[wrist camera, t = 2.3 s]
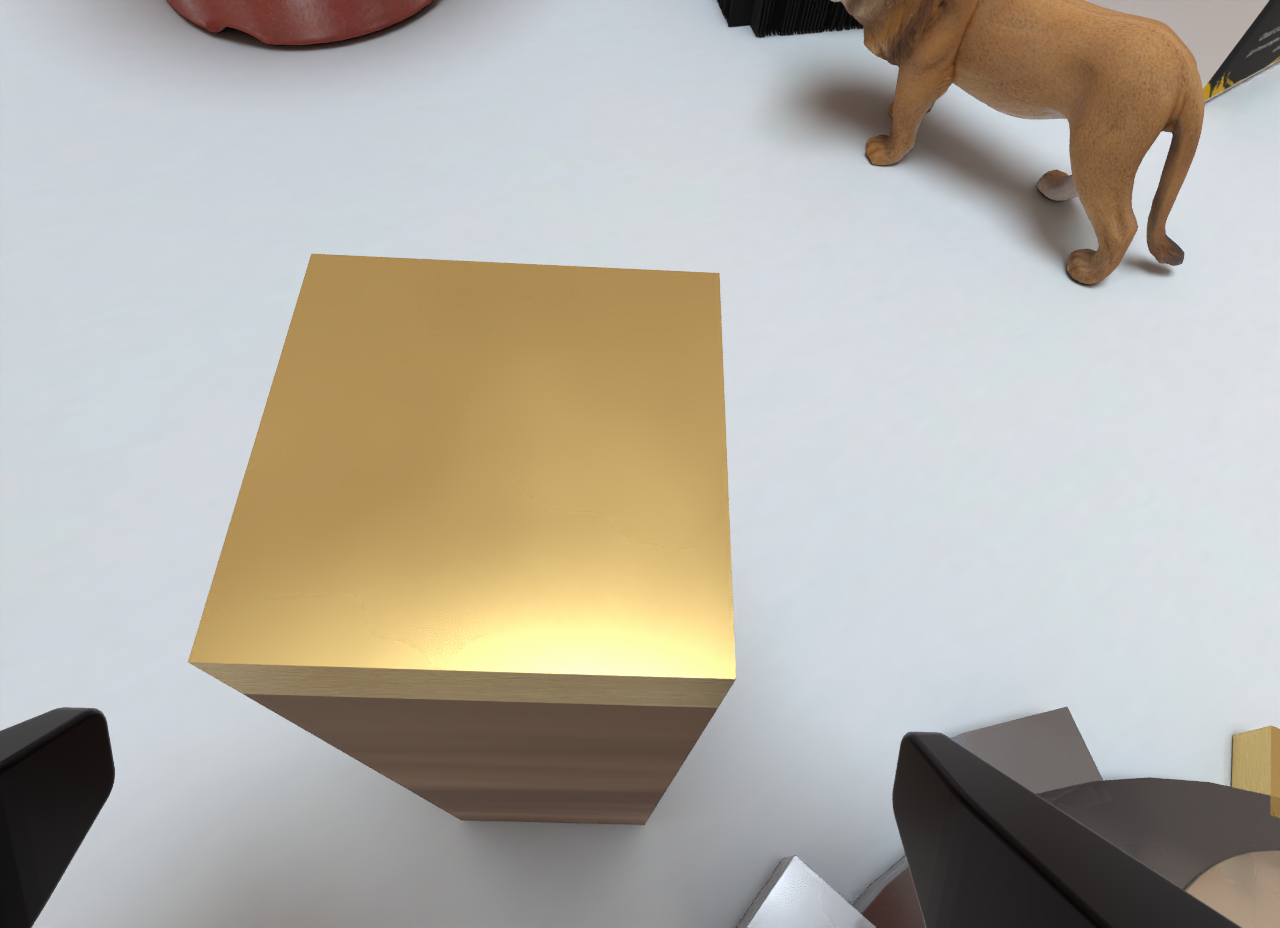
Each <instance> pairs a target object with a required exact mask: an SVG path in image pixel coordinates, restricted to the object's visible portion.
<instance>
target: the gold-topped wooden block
mask: <svg viewBox="0 0 1280 928" xmlns="http://www.w3.org/2000/svg"><path fill="white" fill-rule="evenodd" d="M188 663H190V664H192V665H194V666H195V667H197V668H199V669H201V670H202V671H204V672H206V673H208V674H209V675H211V676H213V677H214V678H216V679H218V680H220V681H221V682H223V683H225V684H227V685H228V686H230V687H232V688H233V689H235V690H237V691H239V692H240V693H242V694H244V695H246V696H247V697H249V698H251V699H253V700H254V701H256V702H258V703H259V704H261V705H263V706H265V707H266V708H268V709H270V710H272V711H273V712H275V713H277V714H278V715H280V716H282V717H284V718H285V719H287V720H289V721H291V722H292V723H294V724H296V725H298V726H299V727H301V728H303V729H304V730H306V731H308V732H310V733H311V734H313V735H315V736H317V737H318V738H320V739H322V740H323V741H325V742H327V743H329V744H330V745H332V746H334V747H336V748H337V749H339V750H341V751H342V752H344V753H346V754H348V755H349V756H351V757H353V758H355V759H356V760H358V761H360V762H362V763H363V764H365V765H367V766H368V767H370V768H372V769H374V770H375V771H377V772H379V773H381V774H382V775H384V776H386V777H387V778H389V779H391V780H393V781H394V782H396V783H398V784H400V785H401V786H403V787H405V788H407V789H408V790H410V791H412V792H413V793H415V794H417V795H419V796H420V797H422V798H424V799H426V800H427V801H429V802H431V803H432V804H434V805H436V806H438V807H439V808H441V809H443V810H445V811H446V812H448V813H450V814H452V815H453V816H455V817H457V818H458V819H460V820H476V821H516V822H557V823H597V824H638V825H645V823H646V822H647V820H648V818H649V817H650V815H651V814H652V812H653V810H654V809H655V807H656V806H657V804H658V802H659V801H660V799H661V798H662V796H663V794H664V793H665V791H666V790H667V788H668V786H669V785H670V783H671V782H672V780H673V778H674V777H675V775H676V774H677V772H678V771H679V769H680V767H681V766H682V764H683V763H684V761H685V759H686V758H687V756H688V755H689V753H690V751H691V750H692V748H693V747H694V745H695V743H696V742H697V740H698V739H699V737H700V735H701V734H702V732H703V731H704V729H705V728H706V726H707V724H708V723H709V721H710V720H711V718H712V716H713V715H714V713H715V712H716V710H717V708H718V707H719V705H720V704H721V702H722V700H723V699H724V697H725V696H726V694H727V692H728V691H729V689H730V688H731V686H732V685H733V683H734V681H735V680H736V669H735V645H734V620H733V596H732V571H731V547H730V522H729V498H728V473H727V449H726V424H725V400H724V375H723V351H722V326H721V302H720V277H719V273H705V272H684V271H663V270H641V269H620V268H599V267H578V266H557V265H536V264H515V263H494V262H473V261H452V260H431V259H410V258H389V257H368V256H346V255H325V254H311V257H310V260H309V264H308V267H307V270H306V274H305V277H304V280H303V284H302V287H301V290H300V293H299V297H298V300H297V303H296V307H295V310H294V313H293V317H292V320H291V323H290V327H289V330H288V333H287V336H286V340H285V343H284V346H283V350H282V353H281V356H280V360H279V363H278V366H277V370H276V373H275V376H274V379H273V383H272V386H271V389H270V393H269V396H268V399H267V403H266V406H265V409H264V413H263V416H262V419H261V422H260V426H259V429H258V432H257V436H256V439H255V442H254V446H253V449H252V452H251V456H250V459H249V462H248V465H247V469H246V472H245V475H244V479H243V482H242V485H241V489H240V492H239V495H238V499H237V502H236V505H235V508H234V512H233V515H232V518H231V522H230V525H229V528H228V532H227V535H226V538H225V542H224V545H223V548H222V551H221V555H220V558H219V561H218V565H217V568H216V571H215V575H214V578H213V581H212V585H211V588H210V591H209V594H208V598H207V601H206V604H205V608H204V611H203V614H202V618H201V621H200V624H199V628H198V631H197V634H196V637H195V641H194V644H193V647H192V651H191V654H190V657H189V661H188Z"/></svg>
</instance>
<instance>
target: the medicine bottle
mask: <svg viewBox="0 0 1280 928" xmlns="http://www.w3.org/2000/svg"><path fill="white" fill-rule="evenodd" d="M1085 1H1088V2H1090V3H1093V4H1095V5H1098V6H1101V7H1104V8H1107V9H1111V10H1114V11H1118V12H1122V13H1127V14H1132V15H1137V16H1142V17H1146V18H1150V19H1154V20H1158V21H1160V22H1162V23H1164V24H1166V25H1167V26H1169V27H1170V28H1171V29H1172V30H1173V31H1174V32H1175V33H1176V34H1177V36H1178V37H1179V38H1180V39H1181V40H1182V41H1183V42H1184V44H1185V45H1186V46H1187V47H1188V48H1189V50H1190V51H1191V53H1192V54H1193V56H1194V58H1195V60H1196V63H1197V70H1198V72H1199V75H1200V78H1201V82H1202V88H1203V94H1204V102H1206V101H1208V100H1209V99H1211V98H1213V97H1215V96H1217V95H1218V94H1220V93H1222V92H1224V91H1226V90H1227V89H1229V88H1231V87H1233V86H1235V85H1236V84H1238V83H1240V82H1242V81H1244V80H1245V79H1247V78H1249V77H1251V76H1253V75H1255V74H1256V73H1258V72H1260V71H1262V70H1264V69H1265V68H1267V67H1269V66H1271V65H1273V64H1274V63H1276V62H1278V61H1280V0H1085Z"/></svg>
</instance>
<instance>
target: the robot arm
mask: <svg viewBox="0 0 1280 928" xmlns="http://www.w3.org/2000/svg"><path fill="white" fill-rule="evenodd" d="M114 779H115V767H114V761H113V755H112V749H111V743H110V738H109V732H108V726H107V721H106V717H105V716H104V714H103V713H102V712H101V711H100V710H98V709H95V708H69V707H63V708H57V709H54V710H52V711H49V712H47V713H44V714H42V715H39V716H37V717H34V718H32V719H29V720H27V721H24V722H22V723H19V724H17V725H14V726H12V727H9V728H7V729H4V730H2V731H0V928H31V927H32V926H33V924H34V922H35V921H36V919H37V918H38V916H39V914H40V913H41V911H42V910H43V908H44V906H45V905H46V903H47V901H48V900H49V898H50V896H51V895H52V893H53V891H54V889H55V888H56V886H57V884H58V883H59V881H60V879H61V877H62V876H63V874H64V872H65V871H66V869H67V867H68V865H69V864H70V862H71V860H72V859H73V857H74V855H75V853H76V852H77V850H78V848H79V847H80V845H81V843H82V841H83V840H84V838H85V836H86V835H87V833H88V831H89V829H90V828H91V826H92V824H93V823H94V821H95V819H96V817H97V816H98V814H99V812H100V811H101V809H102V807H103V805H104V804H105V802H106V800H107V799H108V797H109V795H110V793H111V790H112V787H113V784H114ZM892 800H893V810H894V815H895V819H896V822H897V826H898V829H899V833H900V837H901V840H902V844H903V847H904V851H905V855H906V858H907V862H908V865H909V869H910V873H911V876H912V880H913V883H914V887H915V890H916V894H917V898H918V901H919V905H920V908H921V912H922V916H923V919H924V923H925V926H926V928H1242V927H1240V926H1239V925H1237V924H1236V923H1234V922H1233V921H1231V920H1230V919H1228V918H1227V917H1225V916H1223V915H1222V914H1220V913H1219V912H1217V911H1216V910H1214V909H1213V908H1211V907H1210V906H1208V905H1206V904H1205V903H1203V902H1202V901H1200V900H1199V899H1197V898H1196V897H1194V896H1193V895H1191V894H1189V893H1188V892H1186V891H1185V890H1183V889H1182V888H1180V887H1179V886H1177V885H1176V884H1174V883H1172V882H1171V881H1169V880H1168V879H1166V878H1165V877H1163V876H1162V875H1160V874H1159V873H1157V872H1156V871H1154V870H1152V869H1151V868H1149V867H1148V866H1146V865H1145V864H1143V863H1142V862H1140V861H1139V860H1137V859H1135V858H1134V857H1132V856H1131V855H1129V854H1128V853H1126V852H1125V851H1123V850H1122V849H1120V848H1118V847H1117V846H1115V845H1114V844H1112V843H1111V842H1109V841H1108V840H1106V839H1105V838H1103V837H1101V836H1100V835H1098V834H1097V833H1095V832H1094V831H1092V830H1091V829H1089V828H1088V827H1086V826H1084V825H1083V824H1081V823H1080V822H1078V821H1077V820H1075V819H1074V818H1072V817H1071V816H1069V815H1068V814H1066V813H1064V812H1063V811H1061V810H1060V809H1058V808H1057V807H1055V806H1054V805H1052V804H1051V803H1049V802H1047V801H1046V800H1044V799H1043V798H1041V797H1040V796H1038V795H1037V794H1035V793H1034V792H1032V791H1030V790H1029V789H1027V788H1026V787H1024V786H1023V785H1021V784H1020V783H1018V782H1017V781H1015V780H1013V779H1012V778H1010V777H1009V776H1007V775H1006V774H1004V773H1003V772H1001V771H1000V770H998V769H996V768H995V767H993V766H992V765H990V764H989V763H987V762H986V761H984V760H983V759H981V758H980V757H978V756H976V755H975V754H973V753H972V752H970V751H969V750H967V749H966V748H964V747H963V746H961V745H959V744H958V743H956V742H955V741H953V740H952V739H950V738H949V737H947V736H945V735H944V734H942V733H938V732H908V733H907V734H905V735H904V737H903V739H902V741H901V745H900V750H899V757H898V763H897V769H896V775H895V781H894V787H893V799H892Z"/></svg>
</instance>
